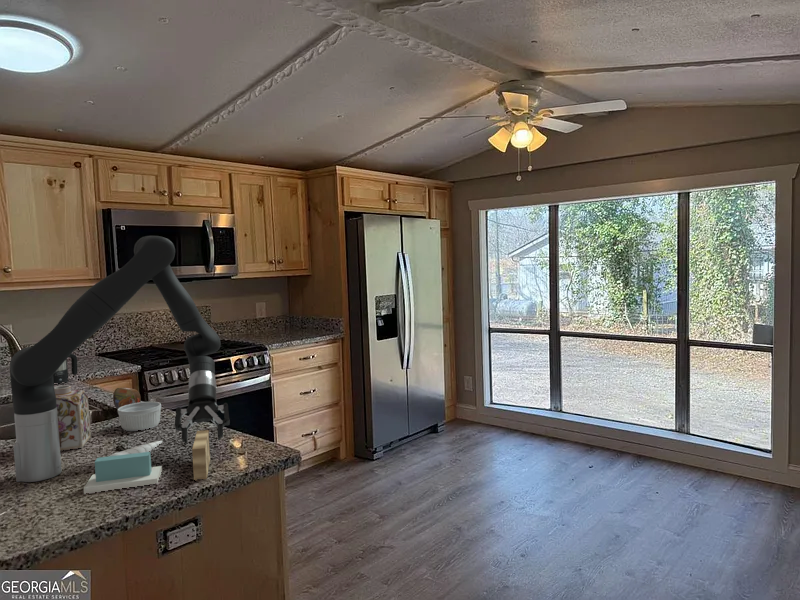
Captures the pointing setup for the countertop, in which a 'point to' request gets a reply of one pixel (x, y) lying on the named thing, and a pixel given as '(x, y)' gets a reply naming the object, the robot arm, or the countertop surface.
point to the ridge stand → (122, 472)
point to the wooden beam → (201, 455)
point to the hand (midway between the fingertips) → (202, 440)
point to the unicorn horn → (139, 449)
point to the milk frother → (65, 370)
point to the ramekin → (139, 415)
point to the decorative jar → (72, 417)
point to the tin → (125, 397)
